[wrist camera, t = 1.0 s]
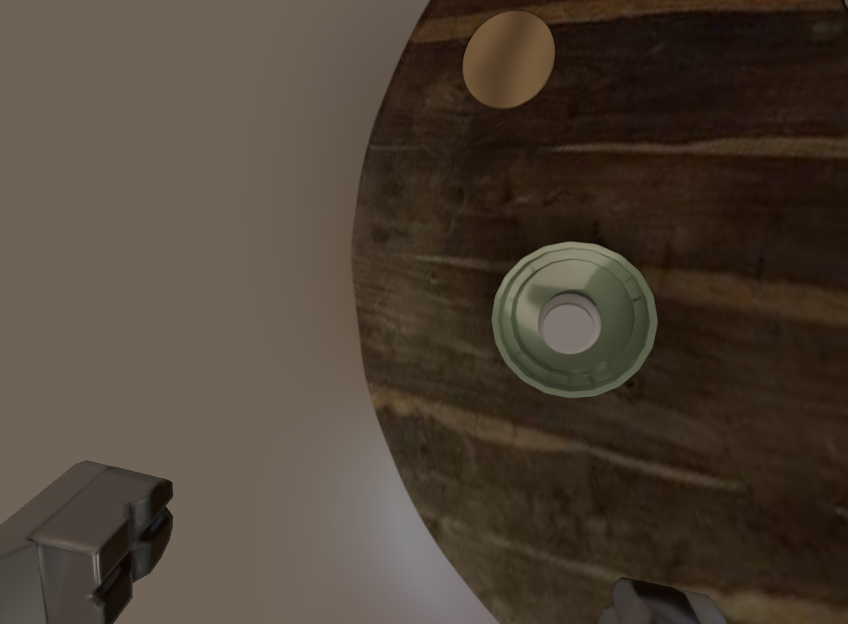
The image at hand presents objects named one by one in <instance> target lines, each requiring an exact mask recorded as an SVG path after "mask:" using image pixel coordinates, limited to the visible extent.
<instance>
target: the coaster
mask: <svg viewBox="0 0 848 624" xmlns="http://www.w3.org/2000/svg"><path fill="white" fill-rule="evenodd" d="M554 61H555V46H554V40H553V37H552V34H551V32H550V30H549V28H548V27H547V25H546V24H545V23H544V22H543V21H542V20H541V19H540V18H538V17H537V16H535V15H533V14H531V13H528V12H524V11H508V12H504V13H501V14H499V15H496V16H494V17H492V18H491V19H489V20H488V21H486V22H485V23H484V24H483V25H482V26H480V28H479V29H478V30H477V31H476V32H475V33H474V35H473V36H472V38H471V40H470V41H469V43H468V46H467V48H466V51H465V54H464V59H463V76H464V80H465V83H466V86H467V88H468V90H469V91H470V93H471V94H472V96H473V97H474V98H475V99H476V100H477V101H479V102H480V103H482V104H483V105H485V106H487V107H490V108H494V109H509V108H514V107H517V106H520V105H522V104H524V103H526V102H527V101H529V100H531V99H532V98H533V97H534V96H535V95H537V94H538V93H539V92H540V90H541V89H542V88H543V87H544V85H545V84H546V82H547V81H548V79H549V77H550V75H551V72H552V69H553V65H554Z"/></svg>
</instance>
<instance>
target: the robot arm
mask: <svg viewBox="0 0 848 624" xmlns="http://www.w3.org/2000/svg"><path fill="white" fill-rule="evenodd" d="M844 2H845V4H846V6H847V7H848V0H844ZM172 497H173V489H172V482H171V481H169V480H167V479H163V478H159V477H154V476H150V475H147V474H142V473H138V472H134V471H130V470H126V469H122V468H118V467H112V466H108V465H103V464H99V463H95V462H91V461H87V460H86V461H83V462H81V463H78V464H75V465H74V466H73V467H71V468H70V469H69V470H68V471H66V472H65V473H64V474H63V475H61V476H60V477H59V478H58V479H57V480H55V481H54V482H53V483H52V484H50V485H49V486H48V487H47V488H45V489H44V490H43V491H42V492H41V493H40V494H38V495H37V496H36V497H34V498H33V499H32V500H31V501H29V502H28V503H27V504H26V505H25V506H24V507H22V508H21V509H20V510H18V511H17V512H16V513H15V514H14V515H12V516H11V517H10V518H9V519H7V520H6V521H5V522H4V523H2V524H1V525H0V624H113V623H114V622H115V621H116V619H117V618H118V616H119V615H120V614H121V612H122V611H123V610H124V608H125V607H126V606H127V604H128V603H129V602H130V600H131V599H132V583H134V582H135V581H137V580H138V579H141V578H142V577H144V576H146V575H148V574H149V573H151V571H152V570H153V568H154V567H155V565H156V564H157V563H158V561H159V560H160V558H161V557H162V555H163V552H164V550H165V548H166V546H167V544H168V542H169V540H170V536H171V531H172V527H173V516H172V514H171V513H170V511H169V510H168V509H167V507H166V505H167V503H168V502H169V501H170V500H171V498H172ZM610 592H611V595H612V598H613V601H614V602H613V603H611V604H609V605H608V606H606V607H604V608H602V609H601V612H600V614H599V617H598V619H597V621H596V624H727V622H726V620H725V619H724V617H723V615H722V613H721V612H720V610H719V608H718V606H717V605H716V603H715V602H714V601H713V600H712V599H711V598H710V597H709V596H708V595H706V594H701V593H696V592H692V591H687V590H682V589H675V588H673V587H668V586H663V585H658V584H653V583H648V582H644V581H639V580H634V579H629V578H624V577H621V578H620V579H618V580H617V581H615V583H614V585H613V587H612V589H611V591H610Z"/></svg>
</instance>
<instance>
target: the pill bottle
mask: <svg viewBox="0 0 848 624" xmlns="http://www.w3.org/2000/svg"><path fill="white" fill-rule="evenodd" d="M538 330H539V333H540V335H541V337H542V339H543V341H544V342H545V343H546V344H547V345H548V346H549V347H550V348H551V349H553V350H555V351H557V352H560V353H564V354H576V353H580V352H582V351H585V350H587V349H588V348H590V347H591V346H592V345H593V344H594V343H595V342H596V340H597V339H598V337H599V334H600V331H601V319H600V315H599V311H598V308H597V306H596V304H595V302H594V301H593V300H592V299H591V298H590V297H589V296H588V295H586V294H585V293H582V292H580V291H574V290H568V291H563V292H560V293H558V294H556V295H554V296H553V297H552V298H551V299H550V300H549V301H548V302H547V303H546V304H545V305H544V306H543V307H542V309H541V311H540V313H539V317H538Z"/></svg>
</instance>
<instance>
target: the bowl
mask: <svg viewBox="0 0 848 624" xmlns="http://www.w3.org/2000/svg"><path fill="white" fill-rule="evenodd" d="M568 290H574V291H580V292H582V293H585V294H586V295H588V296H589V297H590V298H591V299H592V300H593V301H594V302H595V304H596V306H597V308H598V311H599V315H600V319H601V331H600V334H599V337H598V339H597V340H596V342H595V343H594V344H593V345H592V346H591V347H590V348H588V349H587V350H585V351H582V352H580V353H576V354H564V353H560V352H557V351H555V350H553V349H551V348H550V347H549V346H548V345H547V344H546V343H545V342H544V341H543V339H542V337H541V335H540V333H539V330H538V317H539V313H540V311H541V309H542V307H543V306H544V305H545V304H546V303H547V302H548V301H549V300H550V299H551V298H552V297H553V296H554V295H556V294H558V293H560V292H563V291H568ZM657 322H658V321H657V314H656V308H655V301H654V297H653V294H652V292H651V290H650V288H649V287H648V285H647V283H646V281H645V279H644V277H643V276H642V274H641V272H639V271H638V270H637V269H636V268H635V267H634V266H633V265H632V264H631V263H630V262H628V261H627V260H626V259H625V258H624V257H623V256H622V255H620V254H618V253H616V252H613V251H611V250H609V249H607V248H604V247H602V246H600V245H598V244H597V245H596V244H592V243H583V242H573V241H568V242H563V243H558V244H553V245H548V246H544V247H542V248H540V249H538V250H536V251H535V252H533V253H531V254H529V255H527V256H525V257H523V258H522V259H521V260H520V261H519V262H518V263H517V264H516V265H515V266H514V267H513V268H512V269H511V270H510V271H509V272H508V273H507V274H506V276H505V277H504V279H503V281H502V283H501V285H500V287H499V289H498V291H497V293H496V295H495V299H494V305H493V312H492V326H493V333H494V339H495V343H496V345H497V347H498V349H499V351H500V353H501V355H502V357H503V359H504V361H505V363H506V364H507V365H508V366H509V367H510V368H511V369H512V370H513V371H514V372H515V373H516V374H517V375H518V377H519V378H520V379H521V380H523V381H524V382H526V383H528V384H530V385H531V386H533V387H535V388H537V389H539V390H540V391H542V392H544V393H548V394H553V395H557V396H562V397H566V398H576V397H589V396H596V395H599V394H601V393H604V392H606V391H609V390H611V389H614V388H617V387H619V386H620V385H621V384H623V383H624V382H625V381H626V380H627V379H629V378H630V377H631V376H632V375H633V374H635V373H636V372H637V371H638V369H640V367H641V366H642V364H643V363H644V361H645V359H646V358H647V356H648V354H649V353H650V351H651V349H652V347H653V343H654V338H655V333H656V328H657Z"/></svg>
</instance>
